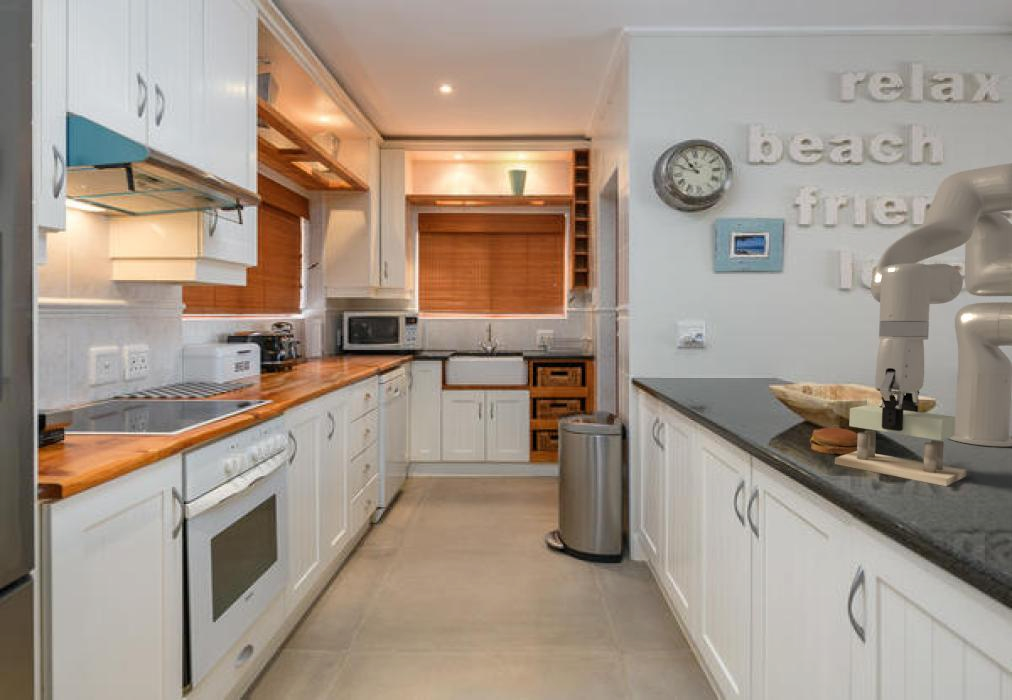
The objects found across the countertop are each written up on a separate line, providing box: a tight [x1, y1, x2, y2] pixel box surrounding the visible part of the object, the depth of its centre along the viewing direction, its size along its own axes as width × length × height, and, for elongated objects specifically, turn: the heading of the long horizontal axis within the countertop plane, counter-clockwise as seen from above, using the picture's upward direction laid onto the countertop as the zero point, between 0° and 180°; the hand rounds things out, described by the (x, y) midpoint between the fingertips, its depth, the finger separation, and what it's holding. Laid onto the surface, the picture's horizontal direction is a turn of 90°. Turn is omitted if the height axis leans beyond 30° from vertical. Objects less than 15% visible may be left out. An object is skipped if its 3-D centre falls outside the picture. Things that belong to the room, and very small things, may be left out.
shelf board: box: [848, 405, 956, 441], centre depth 106 cm, size 6×15×4 cm, turn 34°
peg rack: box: [834, 429, 967, 487], centre depth 107 cm, size 10×18×6 cm, turn 36°
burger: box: [809, 427, 858, 456], centre depth 122 cm, size 10×9×5 cm
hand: (899, 426), depth 106 cm, fingers closed on shelf board, 6 cm apart
